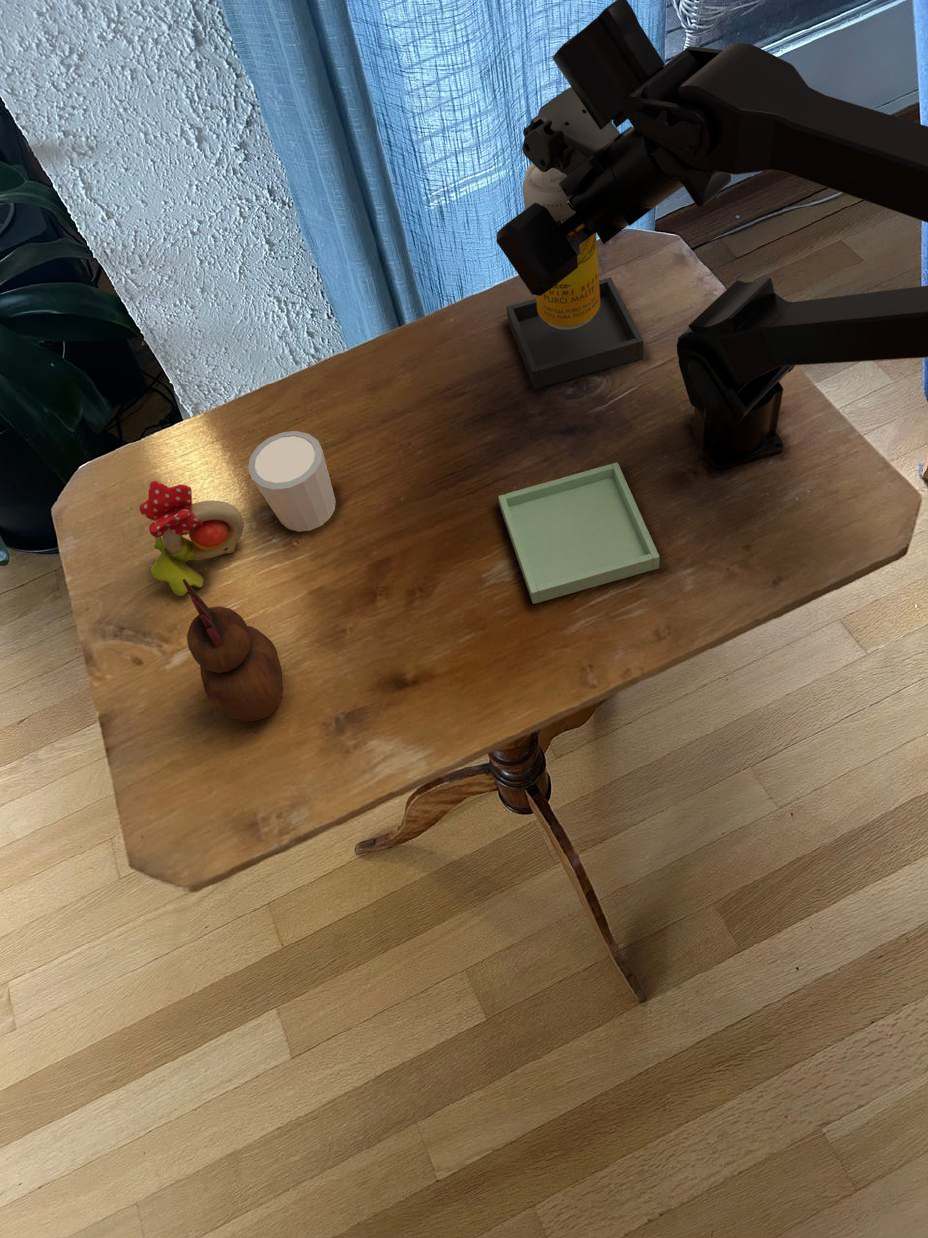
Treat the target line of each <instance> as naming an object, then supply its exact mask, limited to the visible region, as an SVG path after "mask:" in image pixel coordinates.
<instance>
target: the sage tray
mask: <svg viewBox="0 0 928 1238" xmlns="http://www.w3.org/2000/svg"><path fill="white" fill-rule="evenodd" d="M497 496H498V497H497V498H498V504H499V508H500V512H501V514H502V517H503V520H504V523H505V526H506V530H507V532H508V536H509V538H510V541H511V544H512V547H513V549H514V552H515V556H516V559H517V562H518V564H519V568H520V571H521V573H522V577H523V579H524V583H525V585H526V588H527V592H528V594H529V598H530V600H531V602H532V605H534V604H538V603H539V604H540V603H542V602H545V601H549V600H553V599H556V598H559V597H562V596H566V595H570V594H574V593H577V592H580V591H584V590H589V589H591V588H595V587H599V586H602V585H606V584H609V583H612V582H616V581H619V580H623V579H626V578H630V577H633V576H634V577H635V576H638V575H640V574H644V573H648V572H652V571H654V570H657V569H660V554H659V552H658V550H657V548H656V545H655V543H654V540H653V538H652V536H651V534H650V532H649V529H648V527H647V525H646V523H645V521H644V519H643V516H642V514H641V512H640V509H639V506H638V505H637V502H636V500H635V498H634V496H633V493H632V492H631V489H630V487H629V484H628V482H627V480H626V478H625V476H624V473H623V471H622V469H621V466H620V464H619V462H613V463H610V464H606V465H601V466H599V467H595V468H592V469H588V470H585V471H582V472H576V473H573V474H571V475H567V476H564V477H560V478H556V479H552V480H549V481H546V482H543V483H539V484H536V485H532V486H528V487H525V488H521V489H518V490H514V491H510V492H508V493H504V494H501V495H497Z"/></svg>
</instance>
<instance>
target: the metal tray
mask: <svg viewBox="0 0 928 1238" xmlns="http://www.w3.org/2000/svg"><path fill="white" fill-rule="evenodd" d="M599 289H600V307H599V310H598V311H597V313H596V314H595V315H594V316H593V318H592V319H591V320H590V321H589V322H588V323H586V324H585V325H583V326H581V327H578V328H575V329H567V330H565V329H557V328H554V327H552V326H550V325H549V324H548V323H547V322H545V321H544V320H543V319H542V318H541V317H540V316H539V314H538V310H537V302H536V297H535V298H531V299H529V300H524V301H521V302H518V303H515V304H512V305H508V306H506V307H505V310H506V315H507V316H506V317H507V322H508V323H507V324H508V326H509V329H510V331H511V334H512V336H513V338H514V339H513V340H514V341H515V344H516V346H517V349H518V351H519V354H520V356H521V358H522V361H523V363H524V366H525V369H526V371H527V374H528V376H529V378H530V381H531V384H532V386H533V388H534V390H536V389H540V388H544V387H547V386H551V385H554V384H558V383H561V382H564V381H568V380H572V379H576V378H579V377H582V376H585V375H586V376H587V375H589V374H593V373H597V372H600V371H604V370H607V369H611V368H614V367H618V366H622V365H624V364H625V365H626V364H628V363H633V362H635V361H639V360H643V359H644V339H643V337H642V335H641V333H640V331H639V329H638V327H637V326H636V324H635V322H634V319H633V318H632V316H631V314H630V312H629V310H628V308H627V306H626V304H625V302H624V300H623V299H622V296H621V294H620V292H619V290H618V288H617V287H616V285H615V282H614V281H613V279H612V277H610V276H609V277H606V278H602V279H599Z"/></svg>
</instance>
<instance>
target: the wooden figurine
mask: <svg viewBox="0 0 928 1238" xmlns="http://www.w3.org/2000/svg"><path fill="white" fill-rule="evenodd" d="M183 583H184V585H185V586H186V588H187V590H188V591H187V593H188V594H189V596H190V599H191V602H192V604H193V606H194V608H195V609H196V611H197V612H198V614H197V615H196V617H194V618H193V619H192V621H191V622H190V624H189V627H188V630H187V635H186V640H187V647H188V650H189V651H190V654H191V656H192V658H193V659H194V660H195V662H196V663H197V664H198V665H199V669H200V671H199V673H200V678H201V682H202V685H203V690H204V692H205V694H206V696H207V698H208V699H209V700H208V701H210V702H211V704H213V705H214V706H215V707H216V708H217V709H219V710H220V711H221V712H223V713H224V714H226V715H227V716H228V717H231V718H233V719H236V720H241V721H247V722H252V721H259V720H263V719H265V718H266V717H269V716H271V715H272V714H273V712H275V711H276V710H277V709H278V707H279V705H280V703H281V701H282V698H283V693H284V682H283V671H282V666H281V661H280V658H279V655H278V654H279V653H278V651H277V648H276V646H275V644H274V643H273V641H272V640H271V639H270V638H269V637H267V636H266V635H265V634H264V633H262V632H261V631H260V630H259V629H257V628H255V627H253V626H252V625H251V626H250V625H247V623H246V621H245V619H244V618H243V617H242V615H240V614H239V613H238V612H236V611H235V610H233V609H231V608H229V607H225V606H221V605H219V606H211V607H208V605H207V604H206V602H204V600H203V599H202V598H201V597H200V596H199V594H198V592H196V590H195V589H194V588H193V586H190V585H189V584H188V582H187V581H186V580H185V579H183Z"/></svg>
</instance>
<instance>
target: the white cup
mask: <svg viewBox="0 0 928 1238" xmlns="http://www.w3.org/2000/svg"><path fill="white" fill-rule="evenodd" d="M247 471H248V473H249V475H250V478H251V480H252V482H253V483H254V484H255V487H256V488H257V490H259V492H260V494H261V495H262V497H263V498H264V500H265V501H266V502H267V504H268V505H269V507H270V509H271V510H272V512H273V514H275V516H276V518H277V519H278V521H279V522H280V524H281V525H283V526H284V527H285V528H286V529H287V530H289V531H290V530H291V531H295V532H299V533H300V532H310V531H313V530H316V529H317V528H320V527H322V526H323V525H325V524H326V523H327V522H328V521H329V520H330V519H331V517H332V516H333V514H334V512H335V510H336V502H337V501H336V497H335V493H334V488H333V485H332V482H331V478H330V474H329V470H328V466H327V461H326V457H325V454H324V450H323V448H322V446H321V443H320V441H319V440H318V439H317V438H315V437H314V436H313V435H311V434H310V433H308V432H303V431H298V430H292V431H282V432H280V433H277V434H275V435H272V436H270V437H269V436H268V438H266V439H265V440H264V441H262V442H261V443H259V444H258V445H257V446H256V448H255V449H254V451H253V452H252V454H251V455H250V456H249V460H248V468H247Z"/></svg>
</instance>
